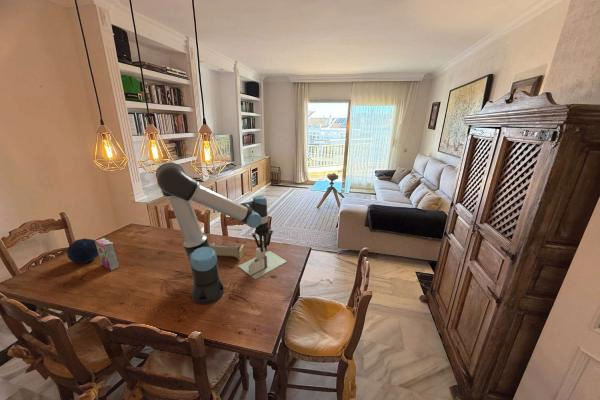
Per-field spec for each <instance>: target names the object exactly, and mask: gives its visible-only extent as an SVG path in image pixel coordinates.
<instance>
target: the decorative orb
mask: <svg viewBox="0 0 600 400" xmlns="http://www.w3.org/2000/svg"><path fill="white" fill-rule="evenodd" d="M95 241H96V240H95V239H90V238H80V239H75V240H74V241H73V242H72V243H71V244H69V246H68V249H67V250H66V254H67V258H68V259H69V260H70V261H72V262H73V263H74V264H75V263H77V264H86V263H90V262H92V261H93V260H94V259H96V258H97V257H98V256H99V253H98V250H97V247H96V244H95ZM89 261H90V262H89Z"/></svg>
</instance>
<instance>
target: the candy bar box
mask: <svg viewBox="0 0 600 400" xmlns="http://www.w3.org/2000/svg"><path fill="white" fill-rule="evenodd" d="M94 241H95V244H96V247H97V250H98V253H99V254H98V256H99V260H100V262H101V265H102V266H103V267H105V268H106V269H107V270H108V271H111V272H112V271H115V270H117V269H119V268H120V266H121V265H120V262H119V259H118V255H117V252H116V249H115V246H114V242H112V241H110V240H108V239H107V238H105V237H103V238H100V239H96V240H94Z"/></svg>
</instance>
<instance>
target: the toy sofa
mask: <svg viewBox="0 0 600 400" xmlns="http://www.w3.org/2000/svg"><path fill="white" fill-rule="evenodd" d="M209 245H210V247H211V248H212V249H213V250H215V252H216V255H217V256H220V257H223V256H224V257H234V258H236V259H237V260H238V261H241V259H242V258H243V257H242V256H244V254H245V253H244V247H245V246H244V245H245V244H243V243H242V244H241V245H240V246H239V245H231V244H230V245H227V244H226V245H225V244H223V245H222V244H216V243H214V242H212V243H209Z"/></svg>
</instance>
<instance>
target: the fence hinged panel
mask: <svg viewBox="0 0 600 400" xmlns="http://www.w3.org/2000/svg"><path fill="white" fill-rule="evenodd" d="M255 250H256V251H255V252H256V253H255V254H256V257H257V258H258V259H260V258H261V259H264V256H265V255H264V253H262V252H261V250H260V248H258V247H257V248H256V249H255Z"/></svg>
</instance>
